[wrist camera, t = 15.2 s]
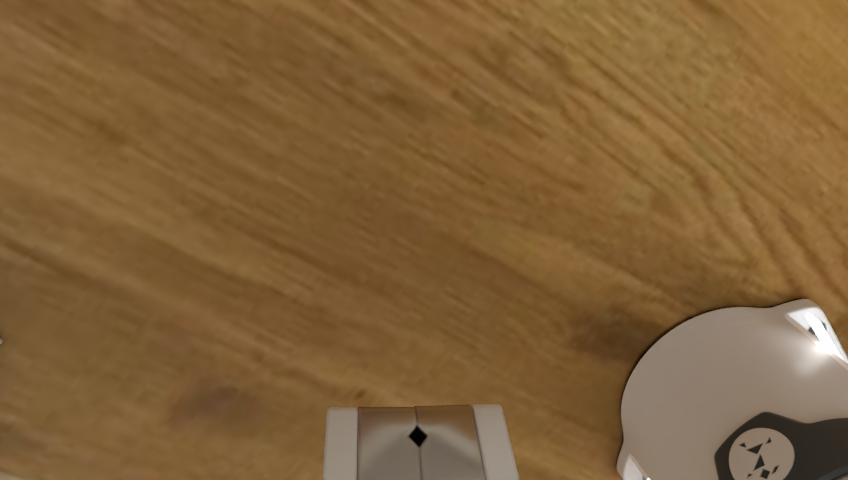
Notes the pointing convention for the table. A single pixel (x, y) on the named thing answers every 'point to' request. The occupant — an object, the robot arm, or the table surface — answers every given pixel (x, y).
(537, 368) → the table surface
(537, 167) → the table surface
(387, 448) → the robot arm
